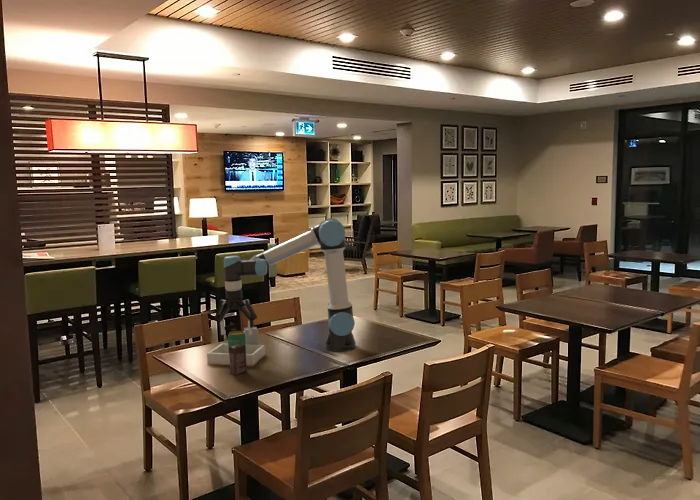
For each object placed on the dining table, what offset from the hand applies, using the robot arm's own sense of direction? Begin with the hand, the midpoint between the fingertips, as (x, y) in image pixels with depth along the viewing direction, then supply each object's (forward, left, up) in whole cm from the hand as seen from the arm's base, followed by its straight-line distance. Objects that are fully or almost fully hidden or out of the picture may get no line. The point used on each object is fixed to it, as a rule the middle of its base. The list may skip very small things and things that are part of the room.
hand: (236, 334), depth 262 cm
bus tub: (0, 0, -12) cm, 12 cm away
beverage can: (0, 0, -11) cm, 11 cm away
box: (-7, +17, -12) cm, 23 cm away
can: (-2, -12, -12) cm, 18 cm away
